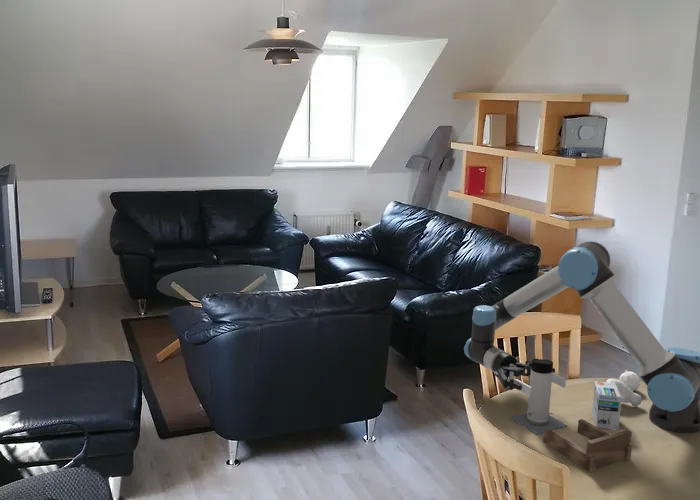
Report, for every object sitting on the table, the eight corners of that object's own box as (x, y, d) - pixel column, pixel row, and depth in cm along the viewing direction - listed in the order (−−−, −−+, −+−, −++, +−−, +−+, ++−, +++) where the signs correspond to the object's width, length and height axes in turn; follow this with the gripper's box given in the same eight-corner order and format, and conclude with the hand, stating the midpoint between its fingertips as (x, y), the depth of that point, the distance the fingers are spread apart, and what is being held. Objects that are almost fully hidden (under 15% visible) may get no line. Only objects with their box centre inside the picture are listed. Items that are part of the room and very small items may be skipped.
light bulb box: (618, 430, 209) (622, 397, 206) (595, 428, 210) (598, 394, 207) (613, 414, 219) (616, 382, 216) (590, 412, 220) (594, 380, 218)
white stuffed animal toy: (606, 374, 228) (644, 382, 225) (601, 397, 230) (638, 406, 227) (606, 381, 223) (645, 390, 219) (601, 405, 225) (640, 414, 221)
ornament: (619, 393, 234) (613, 371, 237) (626, 394, 239) (620, 373, 242) (638, 388, 231) (631, 366, 234) (645, 389, 236) (638, 368, 238)
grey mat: (539, 410, 220) (539, 409, 220) (567, 426, 210) (567, 425, 210) (509, 418, 215) (509, 417, 215) (537, 435, 205) (537, 434, 205)
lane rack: (542, 442, 201) (545, 416, 199) (580, 431, 208) (583, 406, 206) (591, 472, 185) (594, 444, 183) (630, 459, 192) (633, 432, 190)
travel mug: (527, 425, 210) (532, 362, 205) (526, 415, 216) (531, 354, 212) (548, 427, 209) (554, 364, 204) (547, 417, 215) (552, 356, 210)
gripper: (529, 367, 232) (577, 391, 214) (469, 380, 221) (514, 407, 202) (531, 345, 230) (579, 368, 212) (470, 358, 219) (516, 383, 201)
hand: (548, 387), depth 207 cm, fingers open, 13 cm apart
